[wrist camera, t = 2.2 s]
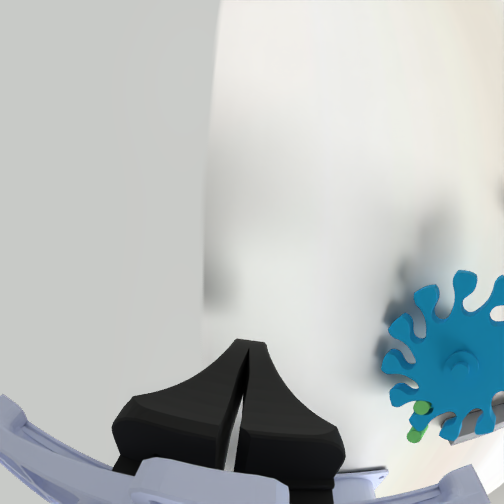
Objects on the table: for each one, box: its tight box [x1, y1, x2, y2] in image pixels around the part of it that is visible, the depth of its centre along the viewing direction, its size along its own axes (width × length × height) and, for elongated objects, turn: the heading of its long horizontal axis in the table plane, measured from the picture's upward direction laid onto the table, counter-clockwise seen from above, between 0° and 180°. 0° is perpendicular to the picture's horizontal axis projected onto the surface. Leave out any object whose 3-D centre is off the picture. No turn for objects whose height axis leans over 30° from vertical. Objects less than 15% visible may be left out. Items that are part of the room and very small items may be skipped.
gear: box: [381, 270, 504, 443], centre depth 12 cm, size 11×6×10 cm
